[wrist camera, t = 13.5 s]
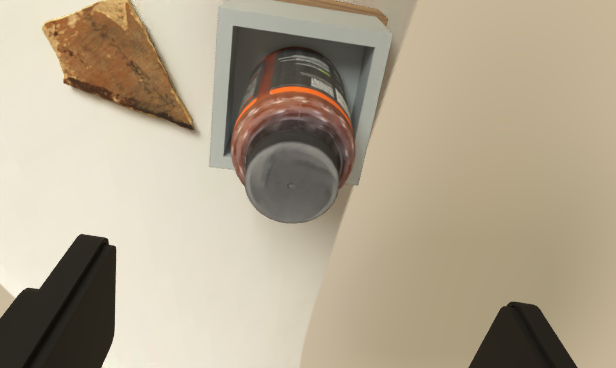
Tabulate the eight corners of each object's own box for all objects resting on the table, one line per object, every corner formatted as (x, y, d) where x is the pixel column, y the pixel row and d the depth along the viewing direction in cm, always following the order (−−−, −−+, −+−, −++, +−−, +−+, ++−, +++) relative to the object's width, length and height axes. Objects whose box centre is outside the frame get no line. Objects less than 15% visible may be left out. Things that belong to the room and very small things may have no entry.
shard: (197, 123, 38) (193, 131, 36) (114, 152, 39) (106, 161, 37) (131, -12, 33) (123, -10, 31) (38, 25, 34) (26, 29, 33)
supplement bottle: (253, 136, 30) (226, 245, 21) (243, 45, 27) (206, 121, 18) (344, 134, 30) (360, 241, 21) (345, 41, 27) (364, 117, 18)
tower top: (232, -6, 29) (218, 6, 24) (376, 16, 30) (393, 34, 25) (223, 130, 33) (209, 166, 28) (348, 146, 34) (358, 185, 29)
